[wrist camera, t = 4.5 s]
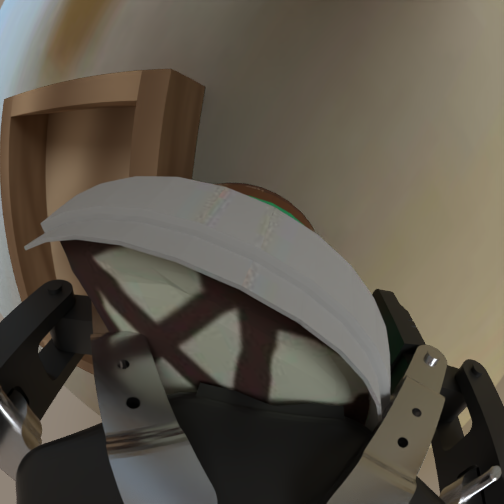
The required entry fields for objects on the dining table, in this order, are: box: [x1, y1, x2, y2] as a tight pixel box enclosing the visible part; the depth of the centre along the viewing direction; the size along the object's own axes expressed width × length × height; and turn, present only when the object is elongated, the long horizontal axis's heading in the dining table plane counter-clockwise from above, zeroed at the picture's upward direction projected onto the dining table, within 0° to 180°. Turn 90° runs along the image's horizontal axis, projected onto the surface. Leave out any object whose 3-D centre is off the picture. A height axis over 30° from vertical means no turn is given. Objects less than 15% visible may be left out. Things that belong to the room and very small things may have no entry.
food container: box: [24, 176, 391, 432], centre depth 9 cm, size 12×6×10 cm, turn 19°
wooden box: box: [0, 69, 205, 374], centre depth 13 cm, size 11×17×4 cm, turn 171°
